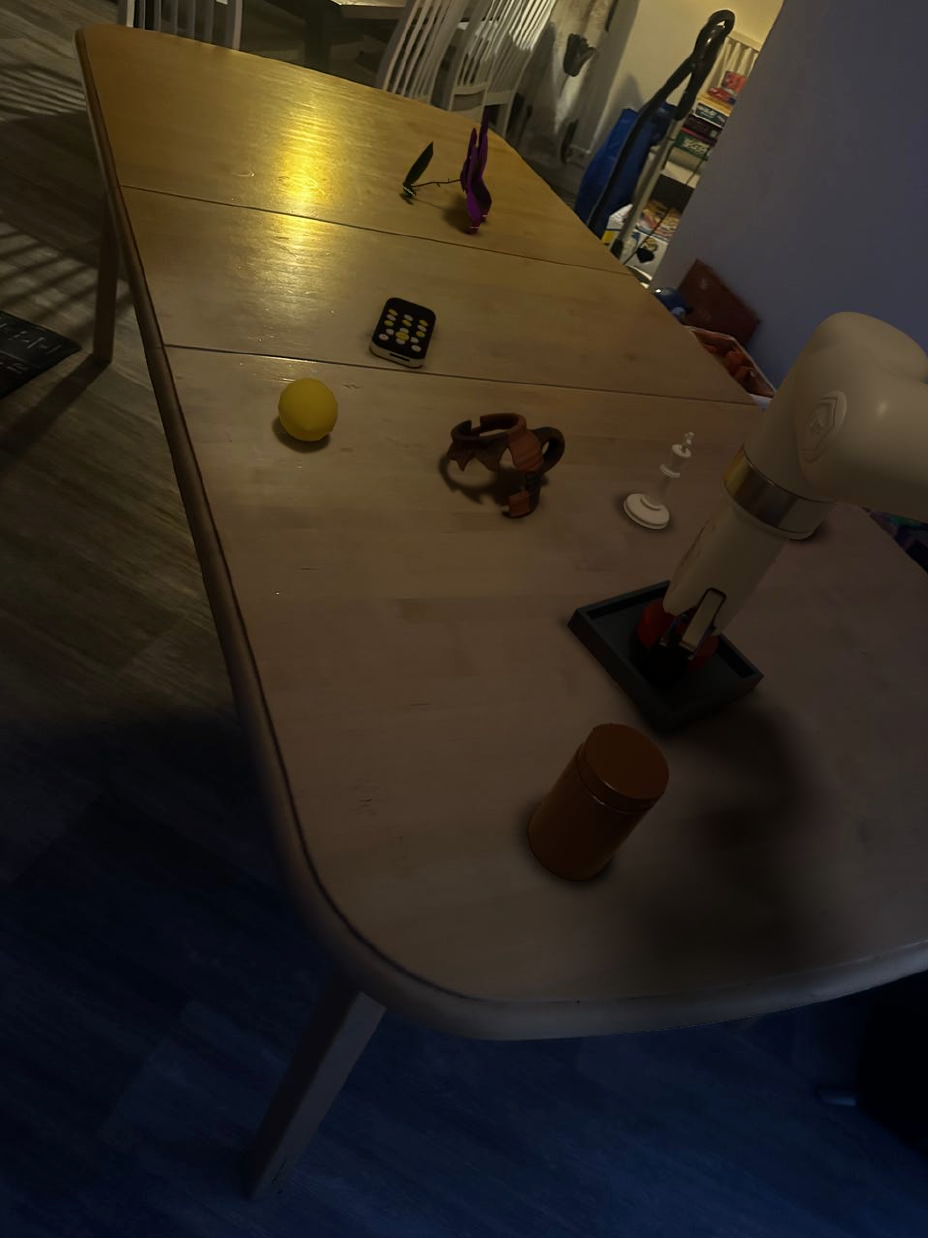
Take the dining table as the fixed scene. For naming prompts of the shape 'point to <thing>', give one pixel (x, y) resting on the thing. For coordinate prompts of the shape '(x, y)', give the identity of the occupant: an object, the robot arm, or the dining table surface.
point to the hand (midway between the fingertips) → (664, 652)
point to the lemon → (308, 409)
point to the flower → (463, 174)
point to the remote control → (403, 332)
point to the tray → (622, 651)
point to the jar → (598, 801)
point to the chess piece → (658, 490)
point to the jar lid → (657, 624)
